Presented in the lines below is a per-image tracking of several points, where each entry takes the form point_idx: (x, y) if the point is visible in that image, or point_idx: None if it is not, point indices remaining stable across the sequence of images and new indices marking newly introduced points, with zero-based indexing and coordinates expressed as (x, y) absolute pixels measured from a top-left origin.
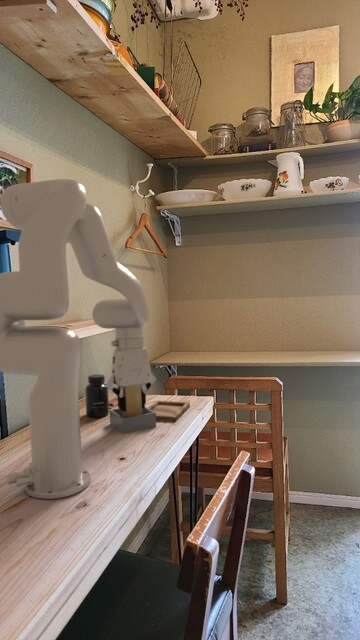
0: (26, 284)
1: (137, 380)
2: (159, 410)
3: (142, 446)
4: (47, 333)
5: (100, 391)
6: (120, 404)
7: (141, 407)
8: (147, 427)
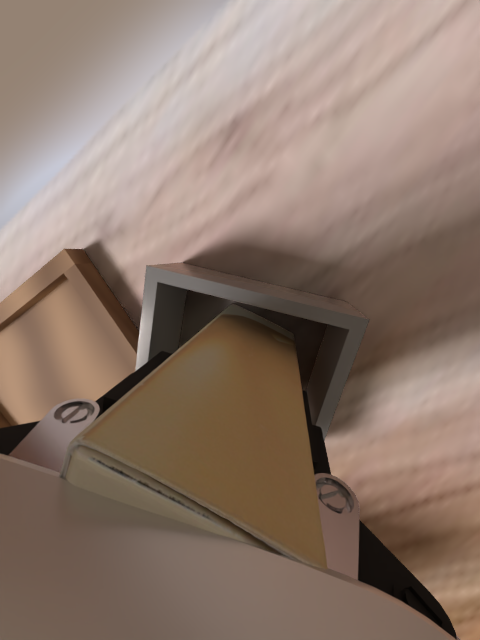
0: None
1: (40, 587)
2: (66, 400)
3: (415, 59)
4: None
5: None
6: (319, 440)
7: (203, 328)
8: (222, 273)
